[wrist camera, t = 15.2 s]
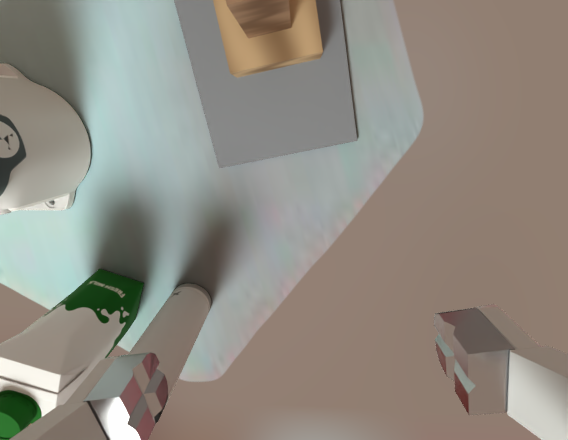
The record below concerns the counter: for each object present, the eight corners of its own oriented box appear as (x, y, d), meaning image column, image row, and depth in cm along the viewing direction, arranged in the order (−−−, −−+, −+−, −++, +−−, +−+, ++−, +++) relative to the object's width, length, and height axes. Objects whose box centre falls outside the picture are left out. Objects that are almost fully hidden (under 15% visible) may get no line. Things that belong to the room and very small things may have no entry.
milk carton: (87, 308, 49) (-47, 429, 30) (95, 260, 46) (-47, 361, 27) (140, 325, 50) (42, 454, 31) (151, 279, 47) (51, 390, 28)
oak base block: (237, 77, 36) (230, 73, 33) (214, -21, 33) (203, -39, 30) (320, 58, 35) (323, 51, 32) (305, -45, 32) (305, -67, 29)
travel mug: (171, 278, 46) (84, 389, 27) (214, 287, 47) (157, 405, 28) (167, 312, 48) (84, 437, 30) (208, 321, 49) (151, 451, 30)
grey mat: (220, 167, 41) (219, 168, 40) (173, -7, 34) (171, -10, 34) (356, 140, 39) (357, 140, 38) (332, -50, 33) (333, -53, 32)
